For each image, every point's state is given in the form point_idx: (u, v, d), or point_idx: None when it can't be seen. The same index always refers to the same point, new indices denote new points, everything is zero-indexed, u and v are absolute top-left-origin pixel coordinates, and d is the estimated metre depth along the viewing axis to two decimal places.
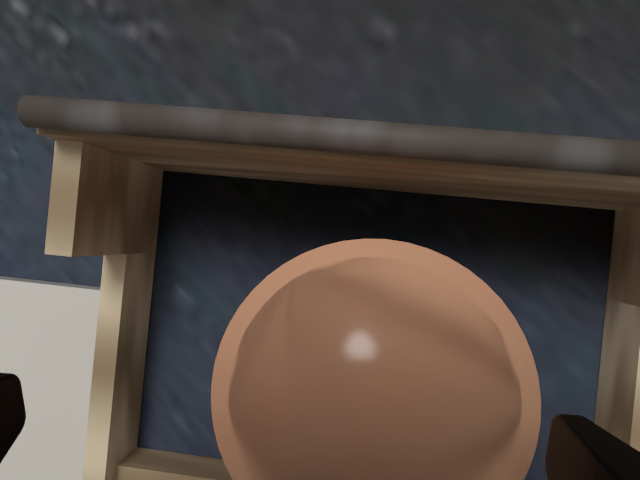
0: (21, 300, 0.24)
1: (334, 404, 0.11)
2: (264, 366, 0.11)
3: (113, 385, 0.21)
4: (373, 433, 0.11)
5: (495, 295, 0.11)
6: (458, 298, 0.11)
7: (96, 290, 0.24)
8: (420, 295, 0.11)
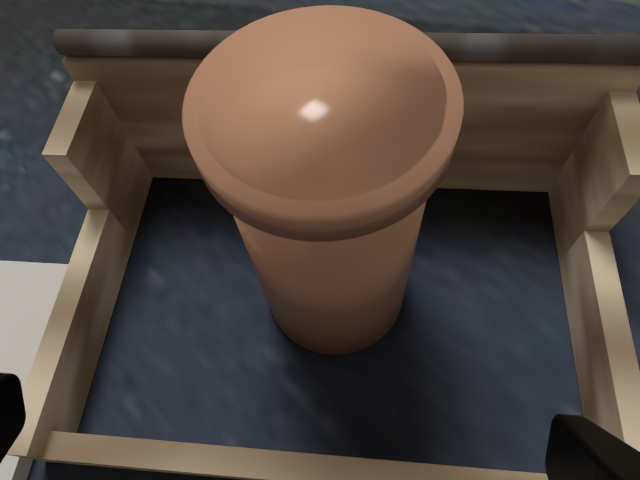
0: None
1: (289, 100, 0.13)
2: (231, 80, 0.13)
3: (69, 327, 0.20)
4: (322, 116, 0.13)
5: (415, 29, 0.14)
6: (388, 35, 0.14)
7: None
8: (357, 32, 0.14)
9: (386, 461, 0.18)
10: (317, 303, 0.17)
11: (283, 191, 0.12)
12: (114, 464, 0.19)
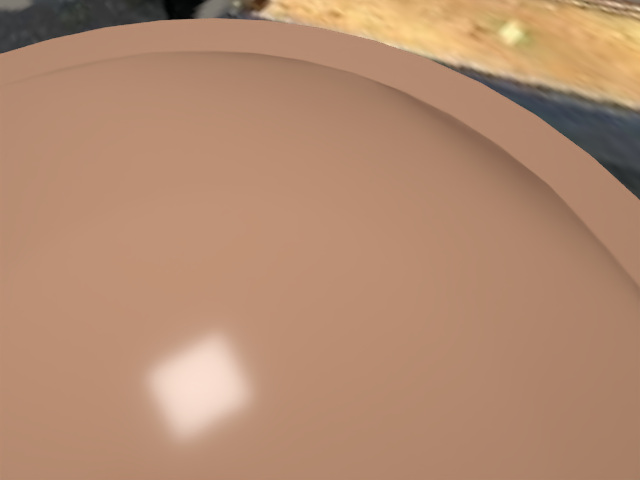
0: None
1: None
2: None
3: None
4: None
5: (519, 112, 0.04)
6: (412, 132, 0.04)
7: None
8: (299, 120, 0.04)
9: None
10: None
11: None
12: None
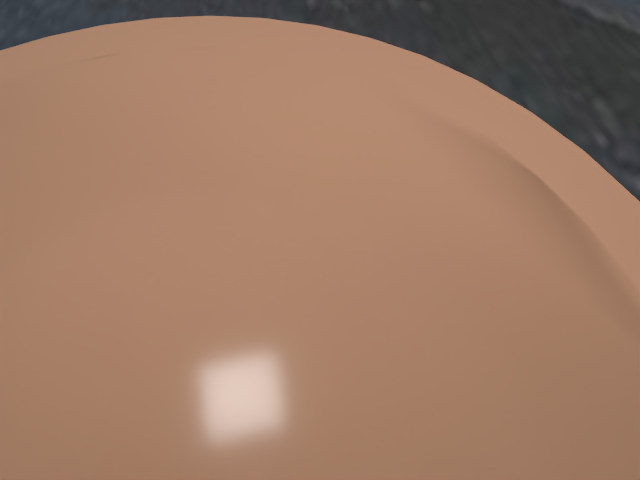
0: None
1: None
2: None
3: None
4: None
5: (514, 109, 0.04)
6: (407, 130, 0.04)
7: None
8: (295, 117, 0.04)
9: None
10: None
11: None
12: None
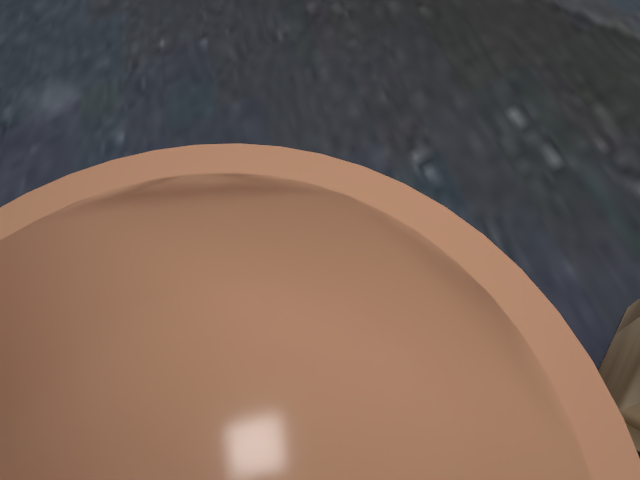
0: None
1: None
2: None
3: None
4: None
5: (471, 231, 0.05)
6: (391, 246, 0.05)
7: None
8: (306, 236, 0.05)
9: None
10: None
11: None
12: None
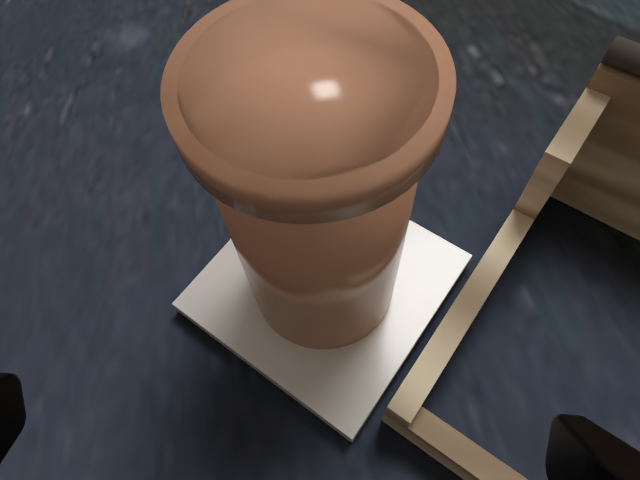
0: None
1: (274, 76, 0.12)
2: (213, 55, 0.13)
3: (473, 319, 0.20)
4: (309, 92, 0.12)
5: (406, 6, 0.13)
6: (377, 12, 0.13)
7: (456, 248, 0.24)
8: (347, 8, 0.13)
9: None
10: (304, 293, 0.16)
11: (265, 169, 0.11)
12: (475, 475, 0.18)
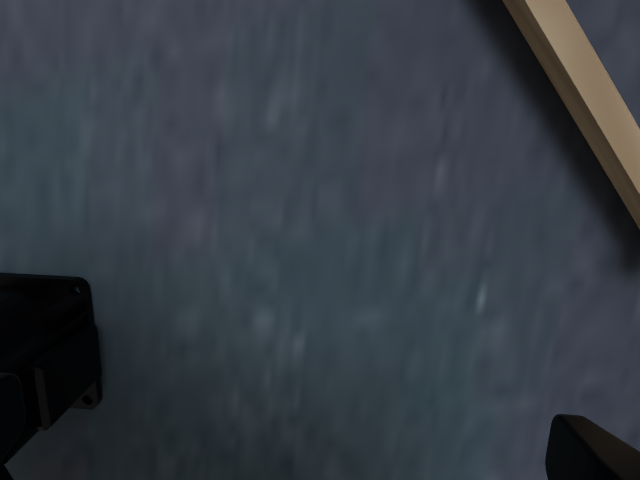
0: None
1: None
2: None
3: None
4: None
5: None
6: None
7: None
8: None
9: (578, 26, 0.16)
10: None
11: None
12: None
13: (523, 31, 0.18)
